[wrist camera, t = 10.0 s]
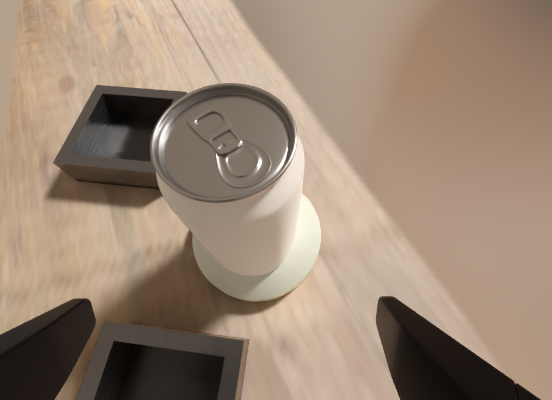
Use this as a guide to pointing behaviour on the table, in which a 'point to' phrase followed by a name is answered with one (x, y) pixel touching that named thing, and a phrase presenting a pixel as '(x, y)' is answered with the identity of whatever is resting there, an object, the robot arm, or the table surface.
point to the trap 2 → (163, 365)
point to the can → (232, 173)
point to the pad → (279, 278)
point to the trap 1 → (116, 136)
